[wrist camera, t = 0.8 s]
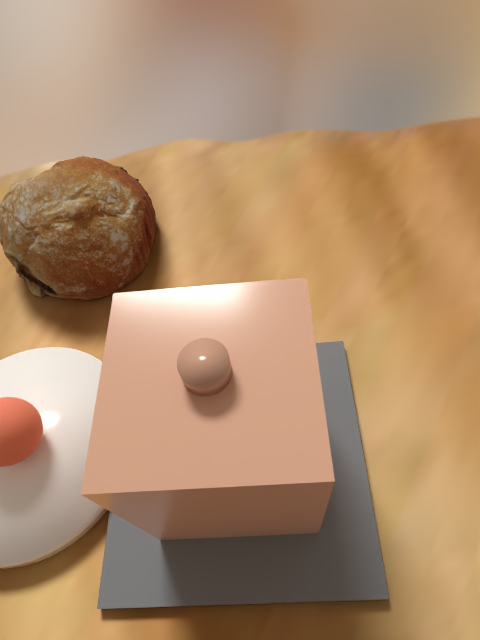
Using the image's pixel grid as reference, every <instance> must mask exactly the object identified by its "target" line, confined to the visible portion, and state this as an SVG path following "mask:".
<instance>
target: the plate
mask: <svg viewBox="0 0 480 640" xmlns="http://www.w3.org/2000/svg"><path fill="white" fill-rule="evenodd" d="M101 366H102V362H101V361H100V360H99V359H97V358H95V357H93V356H91V355H90V354H87V353H85V352H82V351H79V350H75V349H70V348H62V347H46V348H38V349H32V350H28V351H24V352H20V353H17V354H14V355H12V356H9V357H7V358H4V359H2V360H0V398H2V397H16V398H20V399H23V400H25V401H27V402H29V403H30V404H32V405H33V406H34V407H35V408H36V409H37V410H38V412H39V414H40V416H41V418H42V422H43V434H42V438H41V441H40V443H39V445H38V446H37V448H36V449H35V451H34V452H33V453H32V454H31V455H30V456H29V457H27V458H26V459H25V460H23V461H21V462H19V463H17V464H14V465H11V466H5V467H0V569H9V568H15V567H22V566H26V565H30V564H33V563H36V562H40V561H42V560H44V559H47V558H49V557H51V556H53V555H55V554H57V553H59V552H61V551H62V550H64V549H66V548H67V547H69V546H71V545H72V544H73V543H74V542H76V541H77V540H78V539H80V538H81V537H82V536H84V535H85V534H86V533H87V532H88V531H89V530H90V529H91V528H92V527H93V526H94V525H95V524H96V523H97V522H98V521H99V520H100V519H101V518H102V516H103V515H104V514H105V513H106V512H107V509H105V508H103V507H101V506H100V505H98V504H96V503H94V502H93V501H91V500H89V499H87V498H86V497H84V496H82V495H81V489H82V483H83V477H84V471H85V464H86V458H87V452H88V446H89V440H90V434H91V428H92V422H93V415H94V409H95V403H96V397H97V391H98V385H99V379H100V373H101Z"/></svg>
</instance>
